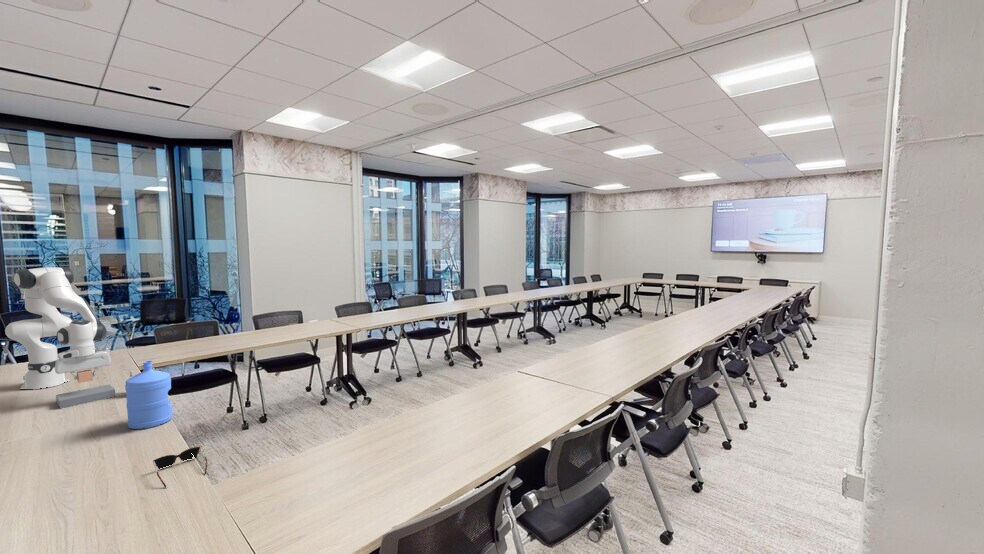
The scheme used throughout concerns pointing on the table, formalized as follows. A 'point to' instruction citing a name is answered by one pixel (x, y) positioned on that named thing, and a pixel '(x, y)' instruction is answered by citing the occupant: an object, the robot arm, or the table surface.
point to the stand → (84, 396)
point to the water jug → (148, 398)
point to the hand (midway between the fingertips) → (84, 377)
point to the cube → (84, 376)
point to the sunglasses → (171, 459)
